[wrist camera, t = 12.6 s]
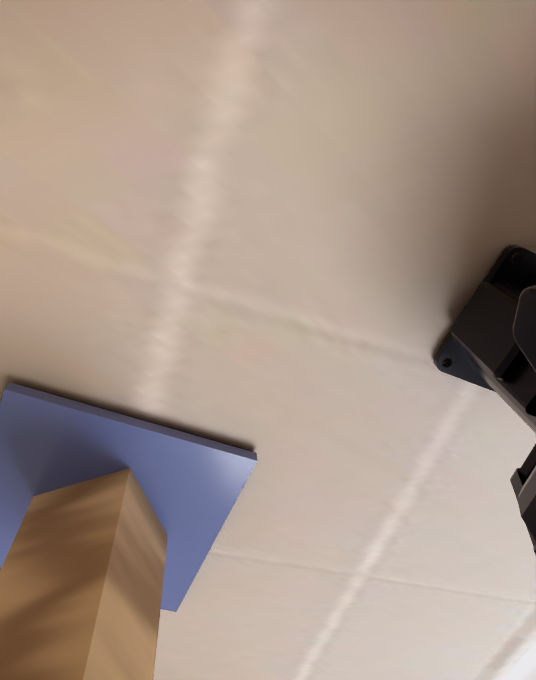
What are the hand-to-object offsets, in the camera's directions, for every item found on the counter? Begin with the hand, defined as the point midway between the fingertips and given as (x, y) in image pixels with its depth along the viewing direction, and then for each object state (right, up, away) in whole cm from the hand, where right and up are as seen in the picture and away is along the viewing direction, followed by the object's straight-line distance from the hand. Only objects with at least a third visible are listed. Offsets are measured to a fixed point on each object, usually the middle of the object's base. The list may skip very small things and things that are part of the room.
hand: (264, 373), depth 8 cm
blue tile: (-8, -8, +18) cm, 21 cm away
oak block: (-8, -9, +17) cm, 21 cm away
